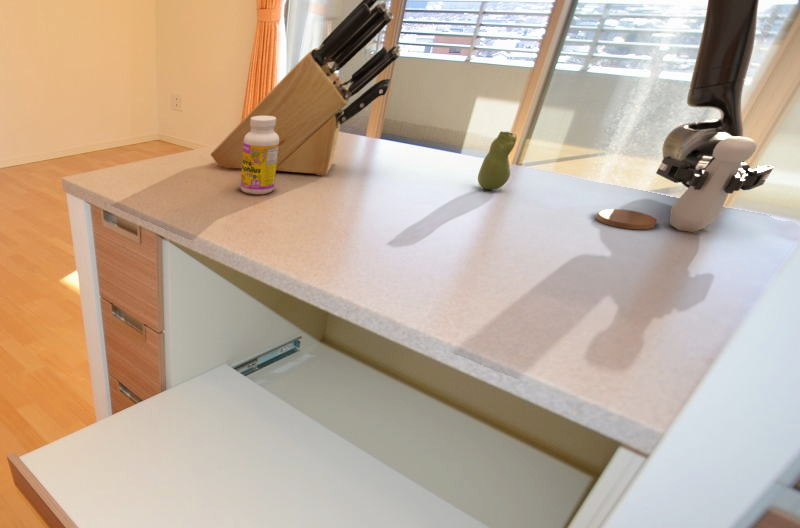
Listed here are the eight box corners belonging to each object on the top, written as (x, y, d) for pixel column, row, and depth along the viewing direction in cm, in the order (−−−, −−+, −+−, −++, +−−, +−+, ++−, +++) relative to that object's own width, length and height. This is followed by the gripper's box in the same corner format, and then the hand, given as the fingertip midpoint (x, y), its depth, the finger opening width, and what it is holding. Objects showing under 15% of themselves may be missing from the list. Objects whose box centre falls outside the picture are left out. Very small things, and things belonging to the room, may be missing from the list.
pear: (475, 184, 108) (493, 127, 101) (504, 186, 106) (525, 129, 99) (473, 191, 104) (491, 133, 98) (503, 194, 102) (525, 135, 96)
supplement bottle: (233, 190, 108) (237, 117, 100) (256, 184, 111) (262, 113, 103) (257, 197, 103) (264, 122, 95) (280, 191, 107) (289, 117, 99)
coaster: (654, 218, 89) (657, 214, 89) (654, 233, 84) (657, 227, 84) (597, 211, 93) (599, 206, 93) (594, 224, 88) (596, 219, 88)
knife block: (372, 180, 111) (414, -12, 92) (209, 168, 121) (215, -7, 102) (376, 167, 119) (414, -12, 100) (223, 157, 130) (231, -7, 110)
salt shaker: (657, 228, 86) (707, 144, 77) (670, 212, 88) (720, 128, 79) (703, 238, 83) (761, 152, 73) (714, 221, 85) (772, 135, 75)
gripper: (668, 130, 90) (671, 150, 79) (781, 139, 84) (802, 162, 73) (644, 178, 95) (644, 203, 84) (749, 190, 88) (764, 218, 77)
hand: (717, 184), depth 78 cm, fingers closed on salt shaker, 3 cm apart
